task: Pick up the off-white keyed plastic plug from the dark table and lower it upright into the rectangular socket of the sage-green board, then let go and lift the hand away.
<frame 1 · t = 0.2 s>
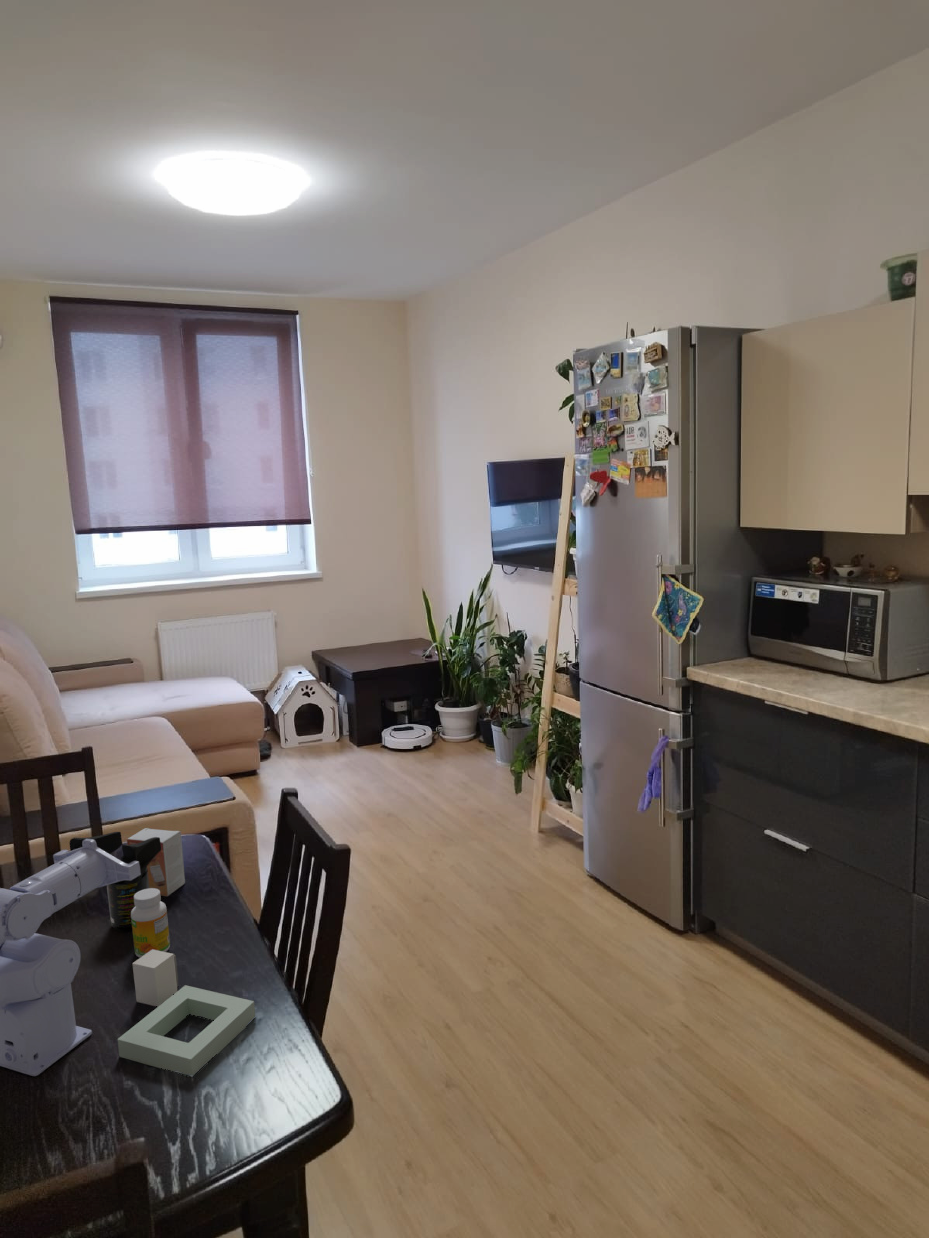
hand: (139, 840, 131), 21 cm above the table, tool horizontal, fingers open, 7 cm apart
socket board: (189, 1036, 117), on the table
small box: (159, 888, 162), on the table
supplement bottle: (152, 951, 140), on the table
supplement container: (132, 923, 149), on the table
plug: (157, 996, 127), on the table
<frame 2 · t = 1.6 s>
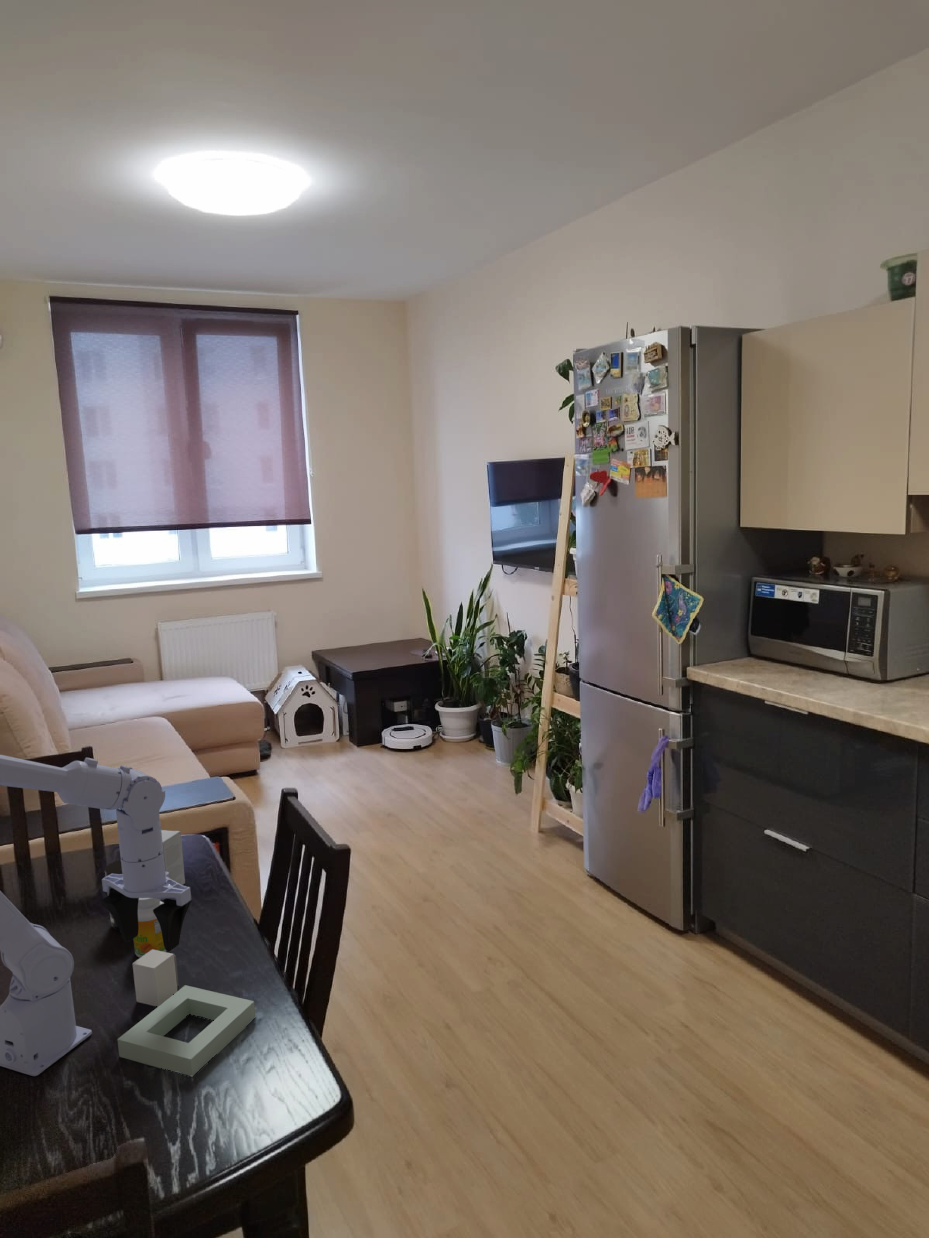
hand: (151, 942, 126), 8 cm above the table, tool pointing down, fingers open, 7 cm apart
nothing on the table moved.
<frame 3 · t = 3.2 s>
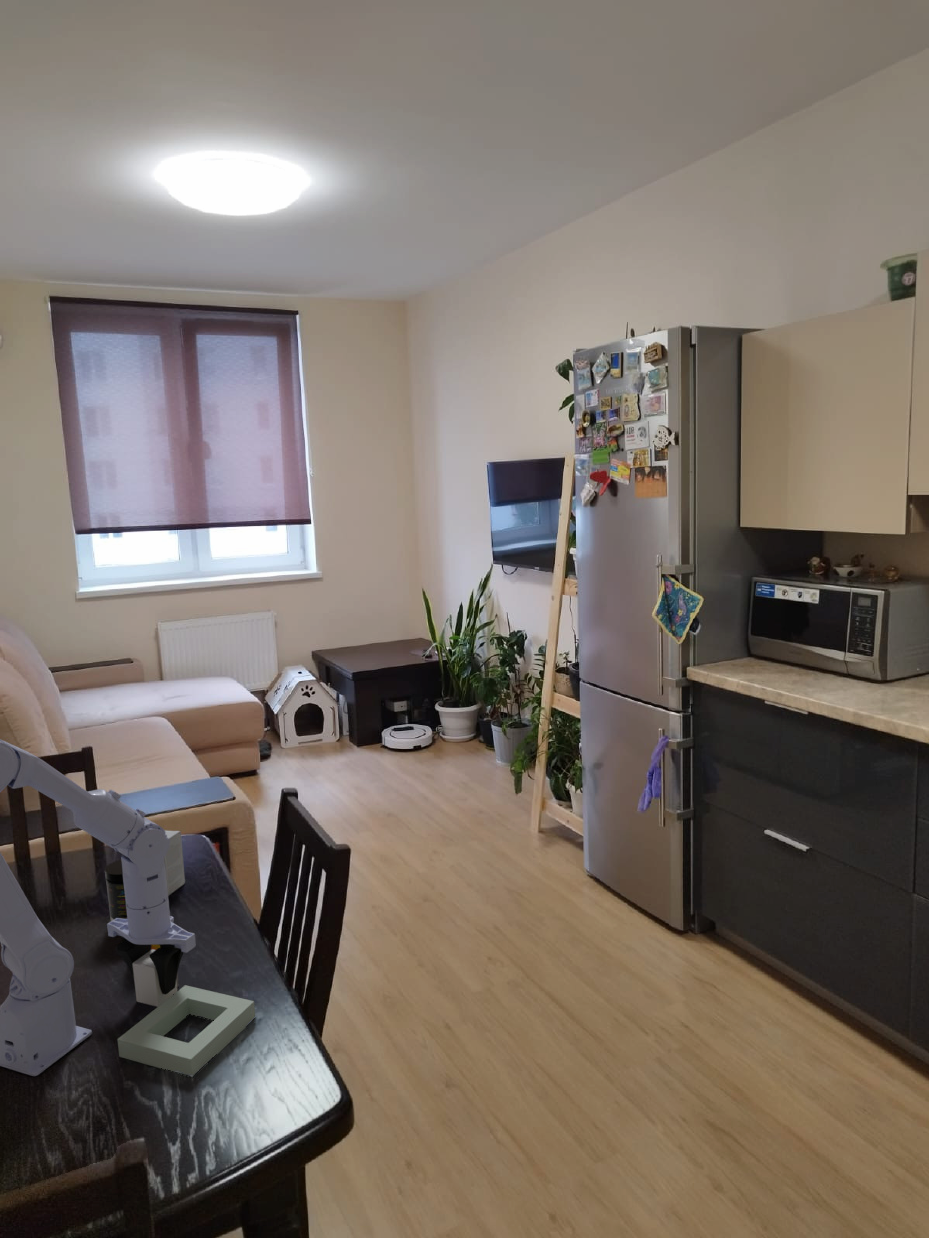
hand: (156, 987, 127), 1 cm above the table, tool pointing down, fingers closed on plug, 4 cm apart
plug: (157, 996, 127), on the table, touching gripper
everything else where it was.
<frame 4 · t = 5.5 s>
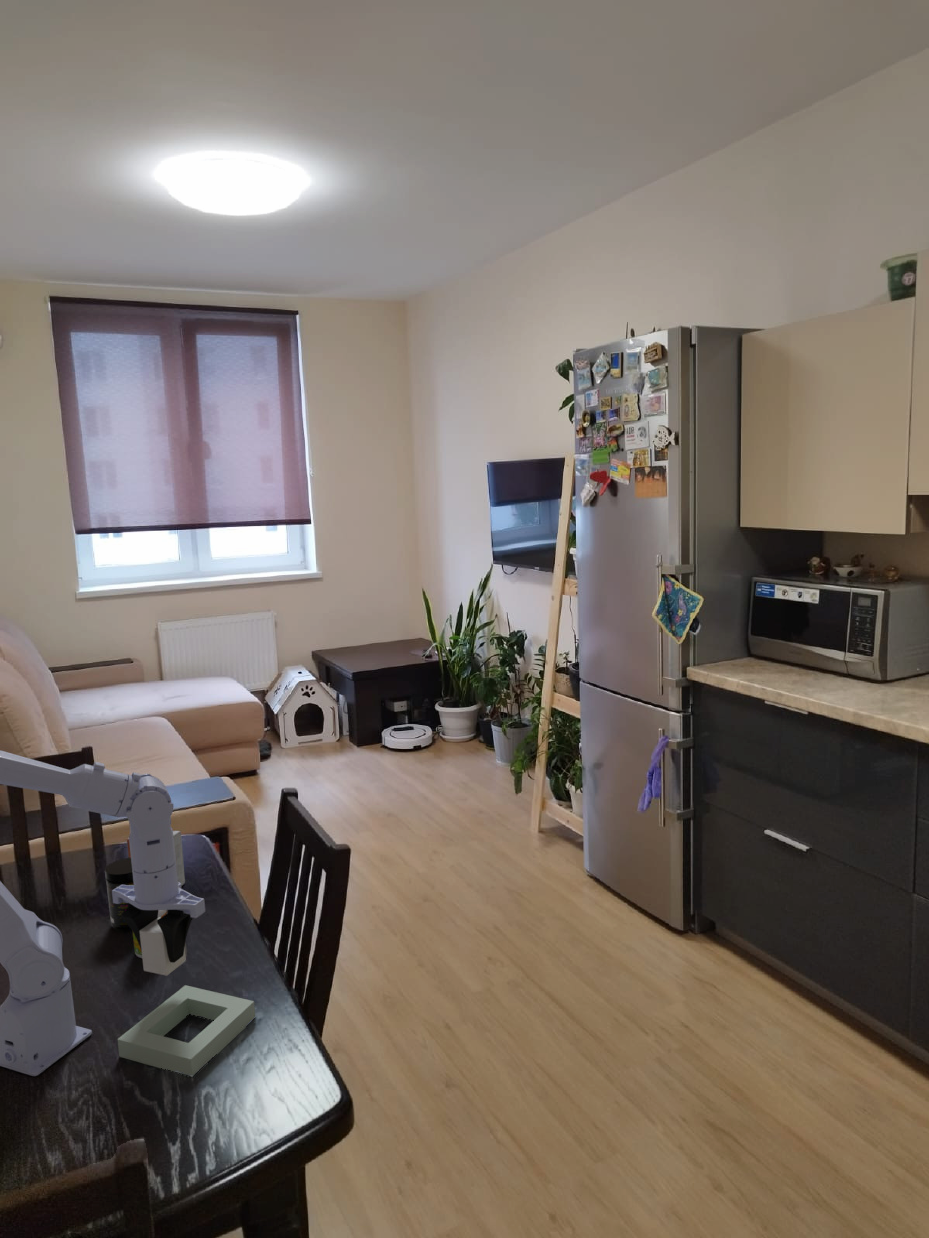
hand: (163, 955, 122), 8 cm above the table, tool pointing down, fingers closed on plug, 4 cm apart
plug: (165, 965, 122), point 7 cm above the table, touching gripper
everything else where it was.
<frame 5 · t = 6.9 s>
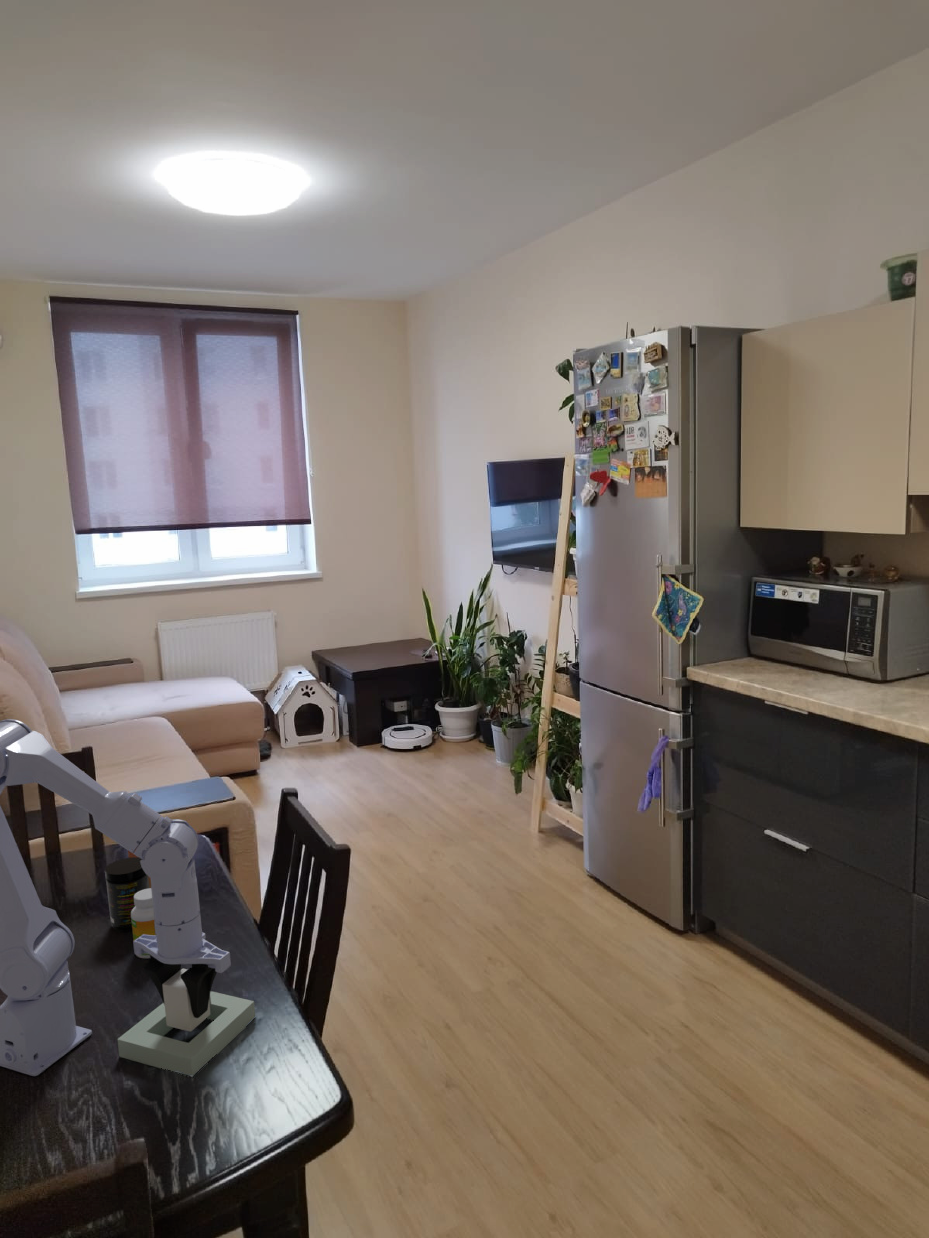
hand: (187, 1010, 117), 4 cm above the table, tool pointing down, fingers closed on plug, 4 cm apart
plug: (188, 1019, 117), point 2 cm above the table, touching gripper
everything else where it was.
when the fingers open (3 cm above the table, at t = 7.9 s): plug drops 1 cm, resting in socket board.
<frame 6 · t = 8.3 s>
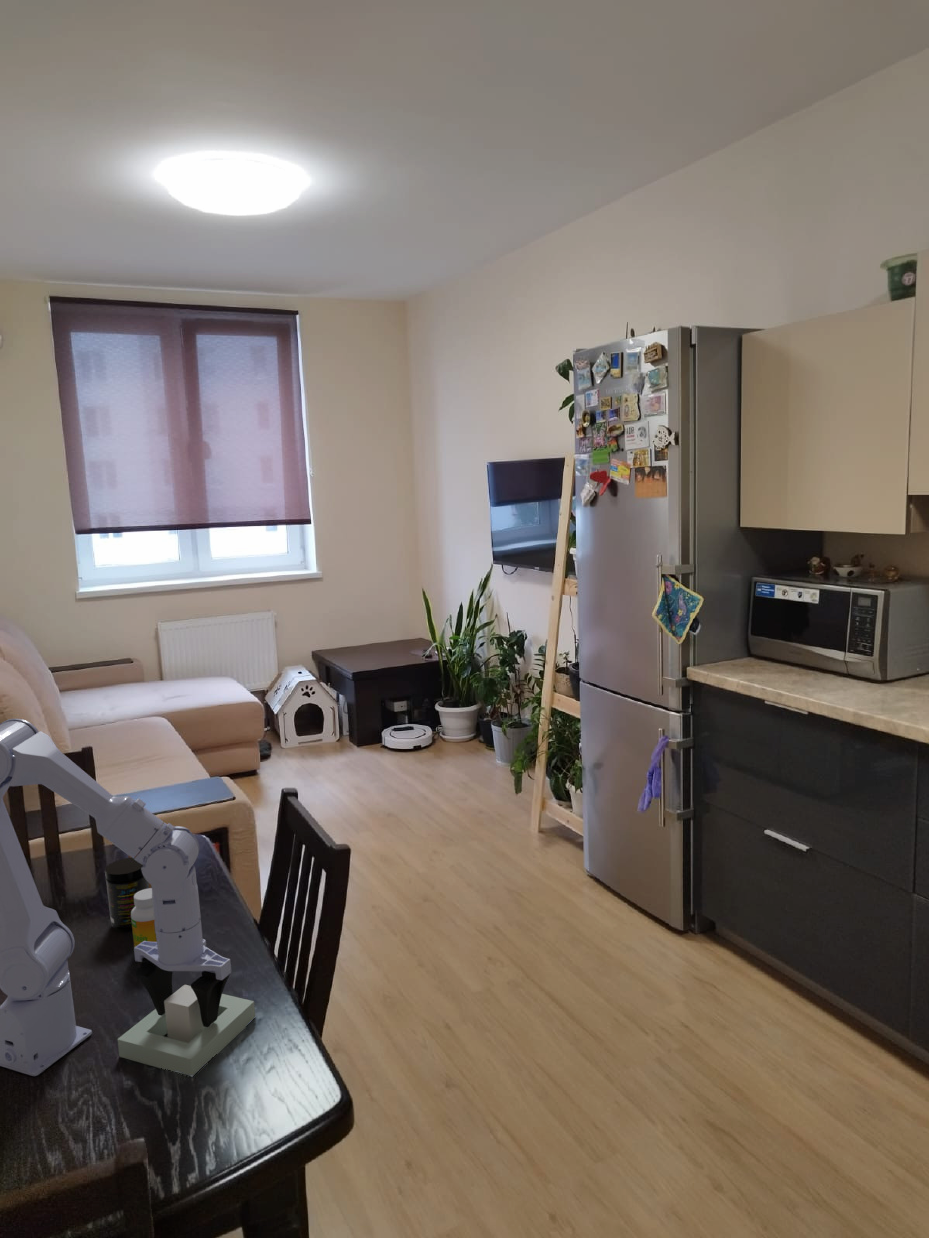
hand: (187, 1016, 117), 3 cm above the table, tool pointing down, fingers open, 7 cm apart
plug: (190, 1036, 117), resting in socket board
everything else where it was.
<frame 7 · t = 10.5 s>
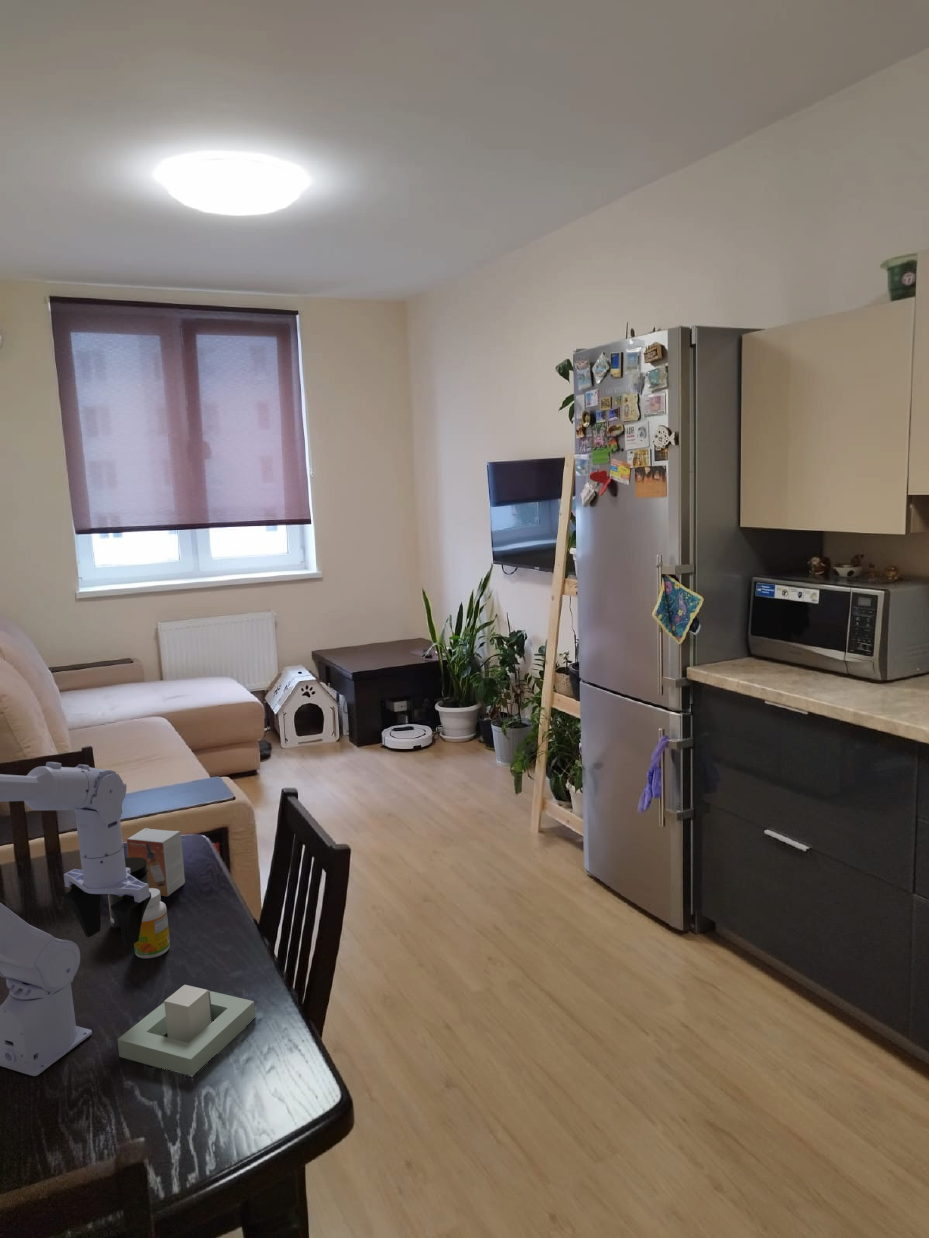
hand: (112, 938, 126), 9 cm above the table, tool pointing down, fingers open, 7 cm apart
nothing on the table moved.
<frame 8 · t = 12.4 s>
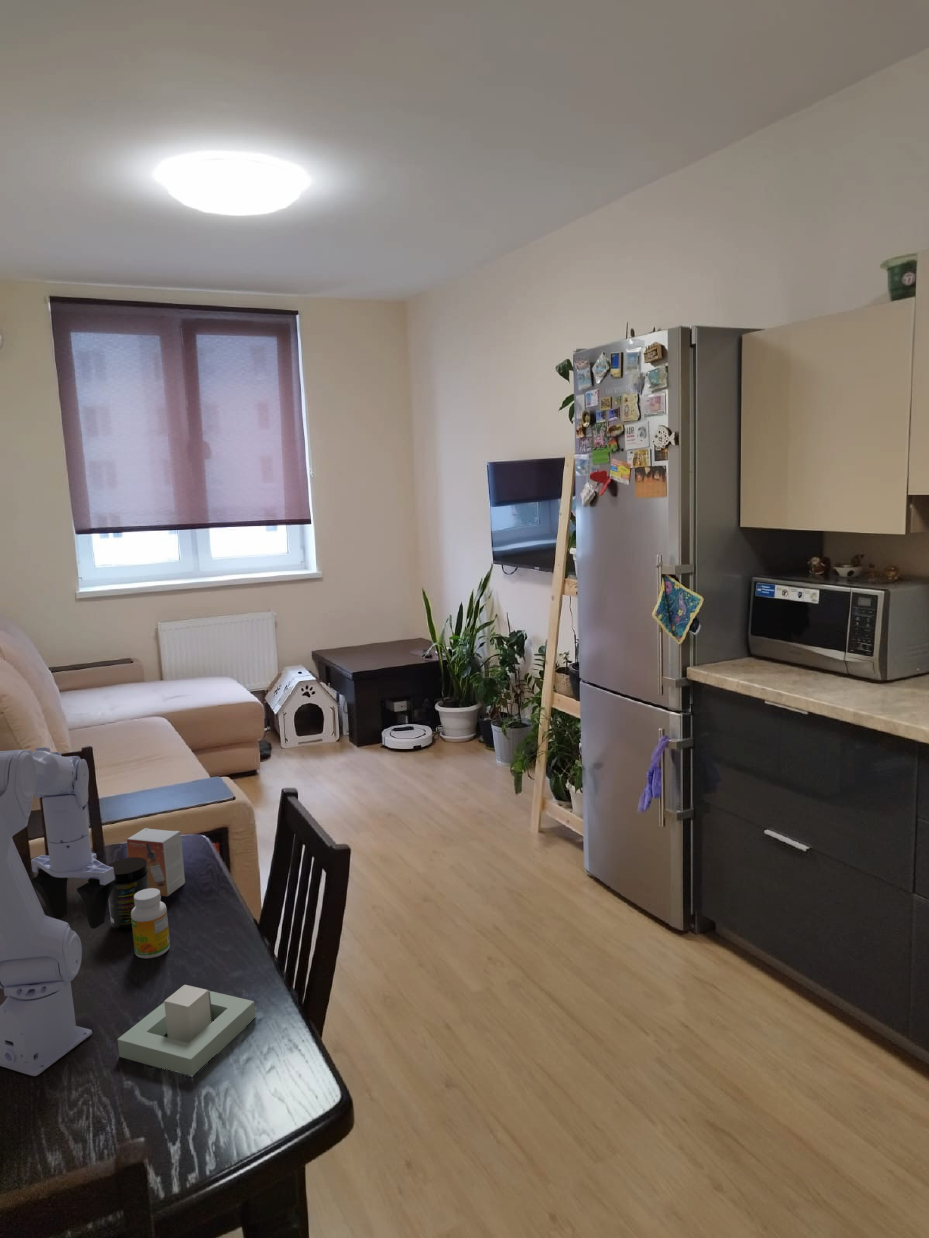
hand: (78, 921, 131), 9 cm above the table, tool pointing down, fingers open, 7 cm apart
nothing on the table moved.
at the end: plug 0.6 cm off-centre on the socket board, point 0.0 cm above the socket board's base; plug tilted 0°; the gripper is holding nothing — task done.
